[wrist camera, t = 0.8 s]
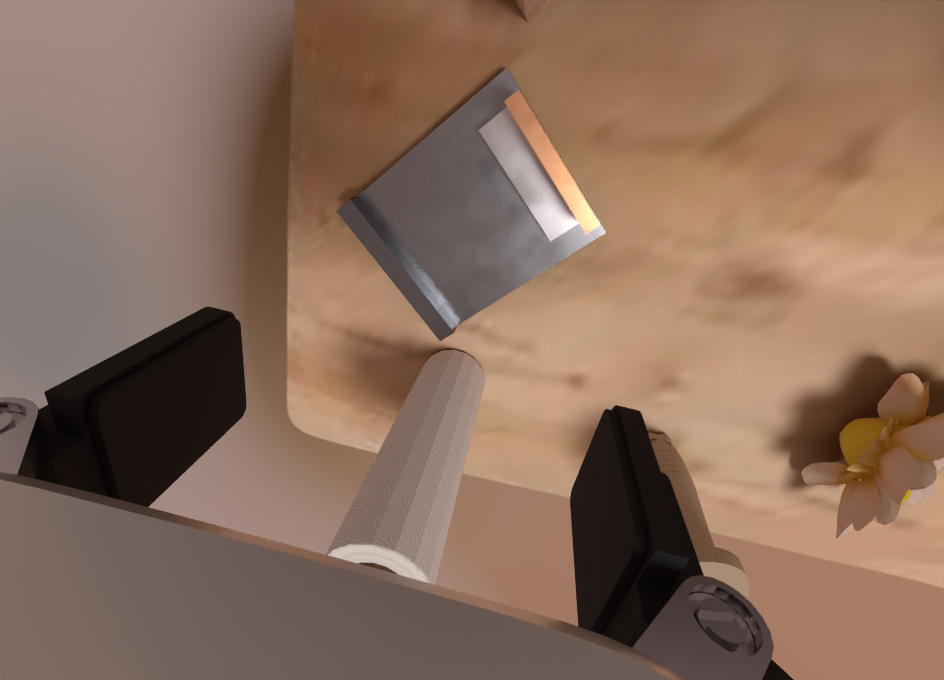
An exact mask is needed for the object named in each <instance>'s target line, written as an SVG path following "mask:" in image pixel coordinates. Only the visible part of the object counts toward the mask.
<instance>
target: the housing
mask: <svg viewBox="0 0 944 680" xmlns="http://www.w3.org/2000/svg"><path fill="white" fill-rule="evenodd" d="M515 1H516V3H517V4H518V6H519V8H520V10H521V11H522V13H523V15H524V17H525V18H526V20H527V22H528V21H529V20H530V19H531V18H532V17H533V16H534V15H536V14H537V13H538V12H539V11H540V10H541V9H542V8H543V7H545V6H546V5H547V4H548V3H549V2H550V1H551V0H515Z"/></svg>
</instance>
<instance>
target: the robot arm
mask: <svg viewBox="0 0 944 680" xmlns="http://www.w3.org/2000/svg"><path fill="white" fill-rule="evenodd" d="M44 393H45V396H46V399H47V402H48V405H47V406H45V407H43V408H41V409H40V410H39V409H38V407H37V405H36V404H35V403H34V402H32V401H30V400H27V399H24V398H15V397H3V398H0V680H793V679H792V678H791V677H790V676H789V675H788V674H787V673H786V672H785V671H784V670H782V669H781V668H780V667H779V666H778V665H777V664H776V663H775V662H774V661H772V659H771V658H772V654H773V647H774V645H773V641H772V637H771V633H770V630H769V628H768V627H767V625H766V623H765V621H764V619H763V617H762V616H761V615H760V613H759V612H758V611H757V610H756V608H755V607H754V606H753V604H752V603H751V602H749V601H748V600H747V599H746V598H745V597H744V596H743V595H742V594H741V593H740V592H738V591H737V590H735V589H734V588H732V587H731V586H729V585H728V584H726V583H724V582H722V581H720V580H717V579H715V578H713V577H708V576H704V575H703V572H702V569H701V566H700V563H699V560H698V558H697V555H696V552H695V549H694V546H693V543H692V541H691V538H690V535H689V532H688V529H687V526H686V524H685V521H684V518H683V515H682V512H681V509H680V507H679V504H678V501H677V498H676V495H675V493H674V490H673V487H672V484H671V481H670V479H669V477H668V475H666V474H665V473H663V472H661V471H660V468H659V465H658V462H657V459H656V456H655V453H654V450H653V447H652V444H651V441H650V438H649V435H648V432H647V429H646V426H645V423H644V420H643V417H642V414H641V412H640V411H638V410H634V409H630V408H626V407H621V406H617V405H616V406H614V407H613V409H612V410H609V409H606V410H605V411H604V412H603V414H602V417H601V419H600V422H599V424H598V427H597V429H596V431H595V434H594V436H593V439H592V441H591V444H590V446H589V449H588V451H587V453H586V456H585V458H584V461H583V463H582V466H581V468H580V471H579V473H578V476H577V478H576V480H575V483H574V485H573V488H572V492H571V498H570V506H571V520H572V535H573V552H574V566H575V581H576V597H577V612H578V627H577V626H575V625H571V624H569V623H566V622H563V621H559V620H556V619H553V618H549V617H546V616H543V615H539V614H536V613H532V612H529V611H526V610H522V609H519V608H515V607H512V606H509V605H505V604H502V603H498V602H495V601H492V600H488V599H485V598H481V597H478V596H474V595H470V594H467V593H463V592H459V591H456V590H452V589H448V588H445V587H441V586H438V585H434V584H431V583H427V582H423V581H420V580H416V579H412V578H409V577H405V576H402V575H398V574H394V573H391V572H387V571H383V570H380V569H376V568H373V567H369V566H365V565H362V564H358V563H354V562H351V561H347V560H343V559H340V558H336V557H332V556H328V555H324V554H321V553H317V552H313V551H310V550H306V549H303V548H299V547H295V546H291V545H288V544H284V543H280V542H276V541H273V540H269V539H265V538H262V537H258V536H254V535H251V534H246V533H243V532H239V531H236V530H232V529H228V528H224V527H221V526H217V525H213V524H209V523H206V522H202V521H198V520H194V519H190V518H187V517H183V516H179V515H175V514H172V513H168V512H164V511H160V510H156V509H152V508H149V507H148V506H150V505H151V504H152V503H153V502H154V501H155V500H156V499H157V498H158V497H159V496H160V495H161V494H162V493H163V492H164V491H165V490H166V489H168V488H169V487H170V486H171V485H172V484H173V483H174V482H175V481H176V480H177V479H178V478H179V477H180V476H181V475H182V474H183V473H184V472H185V471H186V470H187V469H188V468H189V467H190V466H192V465H193V464H194V463H195V461H197V460H198V459H199V458H200V457H201V456H202V455H203V454H204V453H205V452H206V451H207V450H208V449H209V448H210V447H211V446H213V444H215V442H217V441H218V440H219V439H220V438H221V437H222V436H223V435H224V434H225V433H226V432H227V431H228V430H229V429H230V428H231V427H232V426H233V425H235V424H236V422H238V421H239V420H240V419H241V418H242V416H243V415H244V412H245V410H246V392H245V379H244V366H243V351H242V338H241V325H240V322H239V320H237V319H235V316H234V314H233V313H231V312H229V311H225V310H221V309H216V308H212V307H205V308H203V309H201V310H199V311H197V312H195V313H193V314H191V315H190V316H188V317H186V318H184V319H182V320H180V321H178V322H176V323H174V324H172V325H171V326H169V327H167V328H165V329H163V330H161V331H159V332H157V333H155V334H153V335H152V336H150V337H148V338H146V339H144V340H142V341H140V342H138V343H137V344H135V345H133V346H131V347H129V348H127V349H125V350H123V351H121V352H120V353H117V354H116V355H114V356H112V357H110V358H108V359H106V360H104V361H102V362H100V363H99V364H97V365H95V366H93V367H91V368H89V369H87V370H85V371H83V372H82V373H80V374H78V375H76V376H74V377H72V378H70V379H68V380H66V381H65V382H63V383H61V384H59V385H57V386H55V387H53V388H51V389H49V390H47V391H46V392H44Z"/></svg>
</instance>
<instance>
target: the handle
mask: <svg viewBox="0 0 944 680" xmlns="http://www.w3.org/2000/svg"><path fill="white" fill-rule="evenodd" d="M648 435H649V438H650V441H651V444H652V447H653V450H654V453H655V456H656V459H657V462H658V465H659V468H660V471H661V472H663V473H665V474H666V475H668V477H669V479H670V481H671V484H672V487H673V490H674V493H675V495H676V498H677V501H678V504H679V507H680V509H681V512H682V515H683V518H684V521H685V524H686V526H687V529H688V532H689V535H690V538H691V541H692V543H693V546H694V549H695V552H696V555H697V558H698V560H699V563H700V566H701V569H702V572H703V575H704V576H708V577H713V578H715V579H717V580H720V581H722V582H724V583H726V584H728V585H729V586H731V587H732V588H734V589H735V590H737V591H738V592H740V593H741V594H742V595H743V596H744V597H745V598H746V599H747V598H748V595H749V585H748V581H747V577H746V574H745V571H744V569H743V567H742V564H741V562H740V560H739V558H738V557H737V556H735V555H734V554H733V553H731V552H729V551H727V550H723V549H721V548H717V547H714V544H713V541H712V538H711V535H710V532H709V529H708V526H707V523H706V520H705V517H704V514H703V511H702V508H701V504H700V501H699V498H698V495H697V492H696V489H695V486H694V483H693V481H692V478H691V476H690V474H689V471H688V469H687V467H686V465H685V463H684V461H683V459H682V458H681V456H680V454H679V453H678V452H677V450H676V449H675V448H674V447H673V446H672V444H671V443H672V442H671V440H670V438H669V437H668V436H667V435H666V434H663V433H662V434H655V433H653V432H651V433H648Z"/></svg>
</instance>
